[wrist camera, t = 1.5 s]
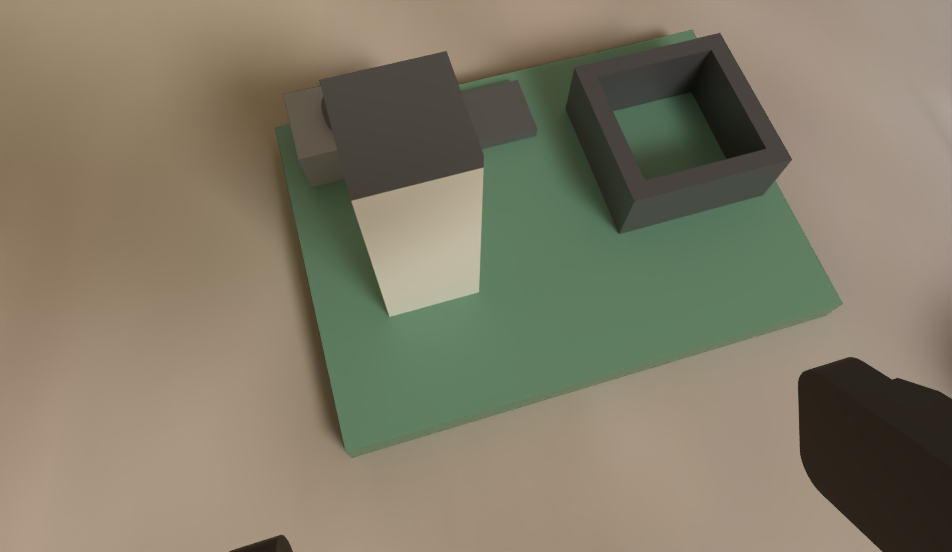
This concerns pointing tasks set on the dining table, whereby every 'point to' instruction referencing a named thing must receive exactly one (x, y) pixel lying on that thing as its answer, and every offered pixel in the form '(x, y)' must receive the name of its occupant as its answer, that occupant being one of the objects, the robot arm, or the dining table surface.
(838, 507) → the robot arm
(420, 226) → the plug
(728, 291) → the board
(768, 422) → the dining table surface
